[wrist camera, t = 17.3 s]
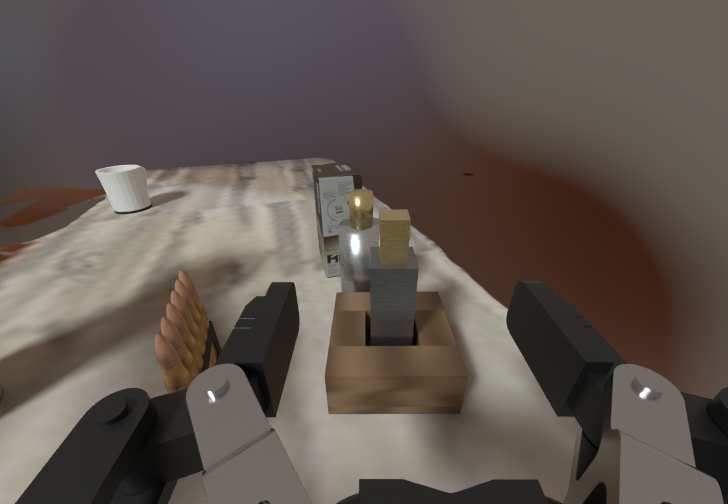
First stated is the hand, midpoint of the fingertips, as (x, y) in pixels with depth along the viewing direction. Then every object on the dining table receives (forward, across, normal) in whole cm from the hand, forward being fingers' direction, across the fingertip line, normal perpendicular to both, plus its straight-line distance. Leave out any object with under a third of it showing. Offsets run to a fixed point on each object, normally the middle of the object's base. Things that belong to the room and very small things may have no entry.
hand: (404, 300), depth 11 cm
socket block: (+14, +1, -20) cm, 24 cm away
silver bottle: (+24, -2, -20) cm, 31 cm away
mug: (+66, -62, -22) cm, 93 cm away
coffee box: (+36, -6, -21) cm, 42 cm away
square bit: (+14, +1, -19) cm, 23 cm away
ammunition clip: (+10, -17, -20) cm, 28 cm away
